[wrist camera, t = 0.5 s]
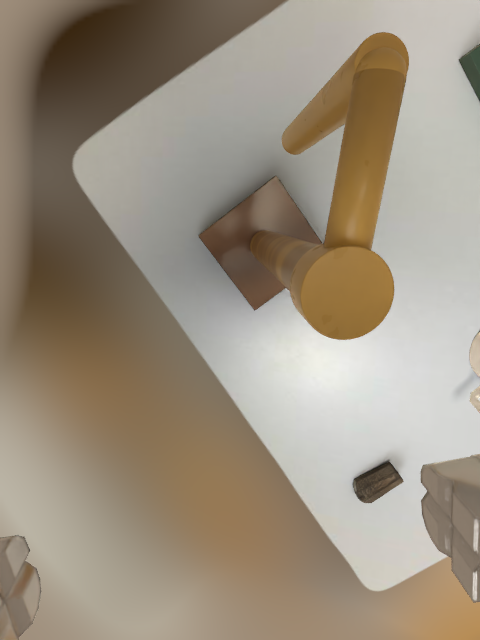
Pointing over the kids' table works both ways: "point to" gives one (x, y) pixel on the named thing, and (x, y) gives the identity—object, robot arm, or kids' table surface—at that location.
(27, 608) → the robot arm
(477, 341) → the cup
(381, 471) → the block
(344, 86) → the bent wooden pipe
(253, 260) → the paper towel holder
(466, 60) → the button block
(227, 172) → the kids' table surface
